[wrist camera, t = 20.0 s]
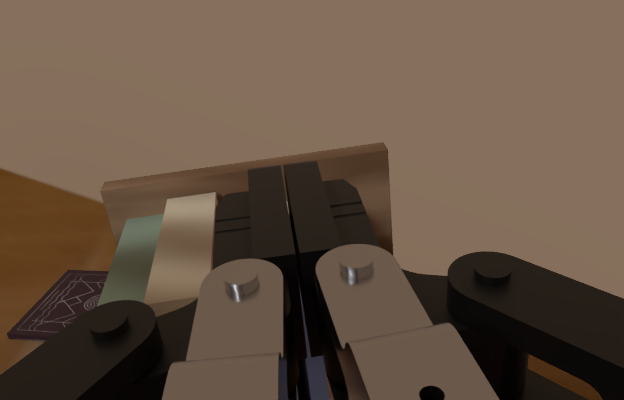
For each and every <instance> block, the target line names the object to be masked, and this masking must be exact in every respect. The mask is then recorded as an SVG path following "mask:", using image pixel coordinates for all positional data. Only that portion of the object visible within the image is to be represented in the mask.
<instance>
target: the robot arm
mask: <svg viewBox="0 0 624 400" xmlns="http://www.w3.org/2000/svg"><path fill="white" fill-rule="evenodd" d="M283 167H284V177H285V185H286V194H287V200H286V194H285V188H284V182H283V177H282V171H281V165H275V166H267V167H259V168H251V169H248V188H249V191H245V192H237V193H230V194H226V195H225V196H224V197H223V198H222V200H221V201H220V202H219V203H218V205H217V206H216V209H215V229H214V233H215V235H214V249H213V269H212V271H211V272H210V273H208V274H207V276H206V277H205V278H204V280H203V281H202V284H201V287H200V292H199V297H198V298H197V299H196V300H194V301H193V302H191V303H190V304H188V305H186V306H184V307H182V308H179V309H177V310H174V311H171V312H169V313H166V314H163V315H160V316H158V317H156V316H155V312H154V311H153V309H152V308H151V307H150V306H149V305H147V304H145V303H143V302H140V301H135V300H119V301H113V302H108V303H105V304H102V305H99V306H97V307H95V308H93V309H91V310H89V311H87V312H85V313H84V314H82V315H81V316H80V317H78V318H77V319H75V320H74V321H73V322H71V323H70V324H69V325H67V326H66V327H65V328H63V329H62V330H61V331H59V332H58V333H57V334H55V335H54V336H53V337H51V338H50V339H48V340H47V341H46V342H44V343H43V344H42V345H40V346H39V347H38V348H36V349H35V350H34V351H32V352H31V353H30V354H28V355H27V356H26V357H24V358H23V359H22V360H20V361H19V362H17V363H16V364H15V365H13V366H12V367H11V368H9V369H8V370H7V371H5V372H4V373H3V374H1V375H0V400H299V396H298V389H297V383H298V380H299V366H298V359H305V358H308V357H307V349H306V340H305V331H304V323H303V314H302V305H303V311H304V317H305V323H306V329H307V335H308V341H309V347H310V353H311V357H317V356H323V359H324V364H325V372H326V382H327V390H328V395H329V398H330V400H588V399H586V398H584V397H582V396H580V395H578V394H576V393H574V392H572V391H570V390H568V389H566V388H564V387H562V386H560V385H558V384H556V383H554V382H552V381H550V380H549V379H547V378H545V377H543V376H541V375H539V374H537V373H535V372H533V371H531V370H529V369H527V365H528V357H529V354H530V355H532V356H534V357H536V358H538V359H541V360H543V361H545V362H547V363H549V364H551V365H553V366H555V367H557V368H559V369H561V370H563V371H565V372H567V373H569V374H571V375H573V376H575V377H577V378H579V379H581V380H583V381H585V382H587V383H588V384H590V385H591V386H592V387H593V388H594V389H595V390H596V391H597V392H598V393H599V394H600V396H601V397H602V399H603V400H624V299H623V298H620V297H618V296H615V295H612V294H610V293H607V292H604V291H602V290H599V289H597V288H594V287H592V286H589V285H586V284H584V283H581V282H579V281H576V280H573V279H571V278H568V277H566V276H563V275H560V274H558V273H555V272H553V271H550V270H547V269H545V268H542V267H540V266H537V265H534V264H532V263H529V262H527V261H524V260H521V259H519V258H516V257H514V256H510V255H507V254H503V253H498V252H475V253H470V254H467V255H464V256H462V257H459V258H458V259H456V260H455V261H454V262H453V263H452V264H451V265H450V267H449V269H448V276H437V275H425V274H417V273H413V272H409V271H406V270H403V269H401V268H400V266H399V264H398V263H397V261H396V259H395V258H394V256H393V255H392V254H390V253H389V252H388V251H386V250H384V249H382V248H381V247H380V245H379V242H378V240H377V237H376V235H375V232H374V230H373V227H372V225H371V222H370V220H369V217H368V215H367V214H366V210H365V207H364V205H363V204H362V200H361V198H360V195H359V193H358V190H357V188H355V187H354V186H352V185H351V184H350V183H348V182H347V181H345V180H344V179H338V180H330V181H322V178H321V174H320V171H319V168H318V164H317V161H316V160H314V161H306V162H298V163H290V164H283ZM287 202H288V206H287ZM288 211H289V212H288ZM299 287H300V288H299ZM300 293H301V297H300ZM301 299H302V305H301Z"/></svg>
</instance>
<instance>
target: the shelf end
mask: <svg viewBox="0 0 624 400" xmlns="http://www.w3.org/2000/svg"><path fill="white" fill-rule="evenodd" d="M314 160H316V161H317V164H318V168H319V171H320V174H321V178H322V181H330V180H338V179H344V180H345V181H347V182H348V183H350V184H351V185H352V186H354V187H355V188H357V190H358V193H359V195H360V198H361V200H362V204H363V205H364V207H365V210H366V214H367V215H368V217H369V220H370V222H371V225H372V227H373V230H374V232H375V235H376V237H377V240H378V242H379V245H380V247H381V248H382V249H384V250H386V251H388V252H389V253H390V254H392V255H393V243H392V226H391V205H390V184H389V165H388V149H387V148H386V146H385V145H384V143H383V142H382V143H376V144H369V145H361V146H354V147H347V148H340V149H333V150H327V151H319V152H313V153H305V154H298V155H291V156H284V157H277V158H271V159H263V160H256V161H249V162H243V163H235V164H228V165H221V166H215V167H207V168H200V169H193V170H186V171H180V172H172V173H165V174H159V175H151V176H144V177H137V178H130V179H123V180H116V181H109V182H104V184H103V186H102V189H101V191H100V192H101V195H102V198H103V202H104V205H105V208H106V211H107V215H108V218H109V221H110V225H111V228H112V231H113V234H114V238H115V241H116V244H117V249H116V252H115V255H114V258H113V261H112V264H111V267H110V270H109V273H108V276H107V279H106V282H105V285H104V288H103V290H102V293H101V296H100V299H99V302H98V305H97V306H99V305H102V304H105V303H108V302H113V301H119V300H135V301H140V302H143V303H145V304H147V305H149V306H150V307H151V308H152V309H153V311H154V312H155V316H156V317H158V316H160V315H163V314H166V313H169V312H171V311H174V310H177V309H179V308H182V307H184V306H186V305H188V304H190V303H191V302H193V301H194V300H196V299H197V298H198V297H199V292H200V287H201V284H202V281H203V280H204V278H205V277H206V276H207V274H208V273H210V272H211V271H212V269H213V249H214V235H215V233H214V229H215V209H216V206H217V205H218V203H219V202H220V201H221V200H222V198H223V197H224V196H225V195H226V194H230V193H237V192H245V191H249V188H248V169H251V168H259V167H267V166H275V165H281V171H282V177H283V182H284V188H285V194H286V185H285V177H284V167H283V164H290V163H298V162H306V161H314ZM286 200H287V194H286ZM298 366H299V363H298ZM299 374H300V370H299Z"/></svg>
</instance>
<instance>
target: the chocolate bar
mask: <svg viewBox="0 0 624 400" xmlns="http://www.w3.org/2000/svg"><path fill="white" fill-rule="evenodd" d="M108 273H109V272H108V271H82V270H68V271H67V272H66V273H65V274H64V275H63V276H62V277H61V278H60V279H59V280H58V281H57V282H56V283H55V284H54V285H53V286H52V287H51V288H50V289H49V290H48V292H47V293H46V294H45V295H44V296H43V297H42V298H41V299H40V300H39V301H38V302H37V303H36V304H35V305H34V306H33V307H32V308H31V309H30V310H29V311H28V312H27V313H26V314H25V315H24V316H23V317H22V319H21V320H20V321H19V322H18V323H17V324H16V325H15V326H14V327H13V328H12V329H11V330H10V331H9V332H8V333H7V335H8V338H9V339H18V340H33V341H47V340H48V339H50V338H51V337H53V336H54V335H55V334H57V333H58V332H59V331H61V330H62V329H63V328H65V327H66V326H67V325H69V324H70V323H71V322H73V321H74V320H75V319H77V318H78V317H80V316H81V315H82V314H84V313H85V312H87V311H89V310H91V309H93V308H95V307H97V305H98V302H99V299H100V296H101V293H102V290H103V288H104V285H105V282H106V279H107V276H108Z"/></svg>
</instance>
